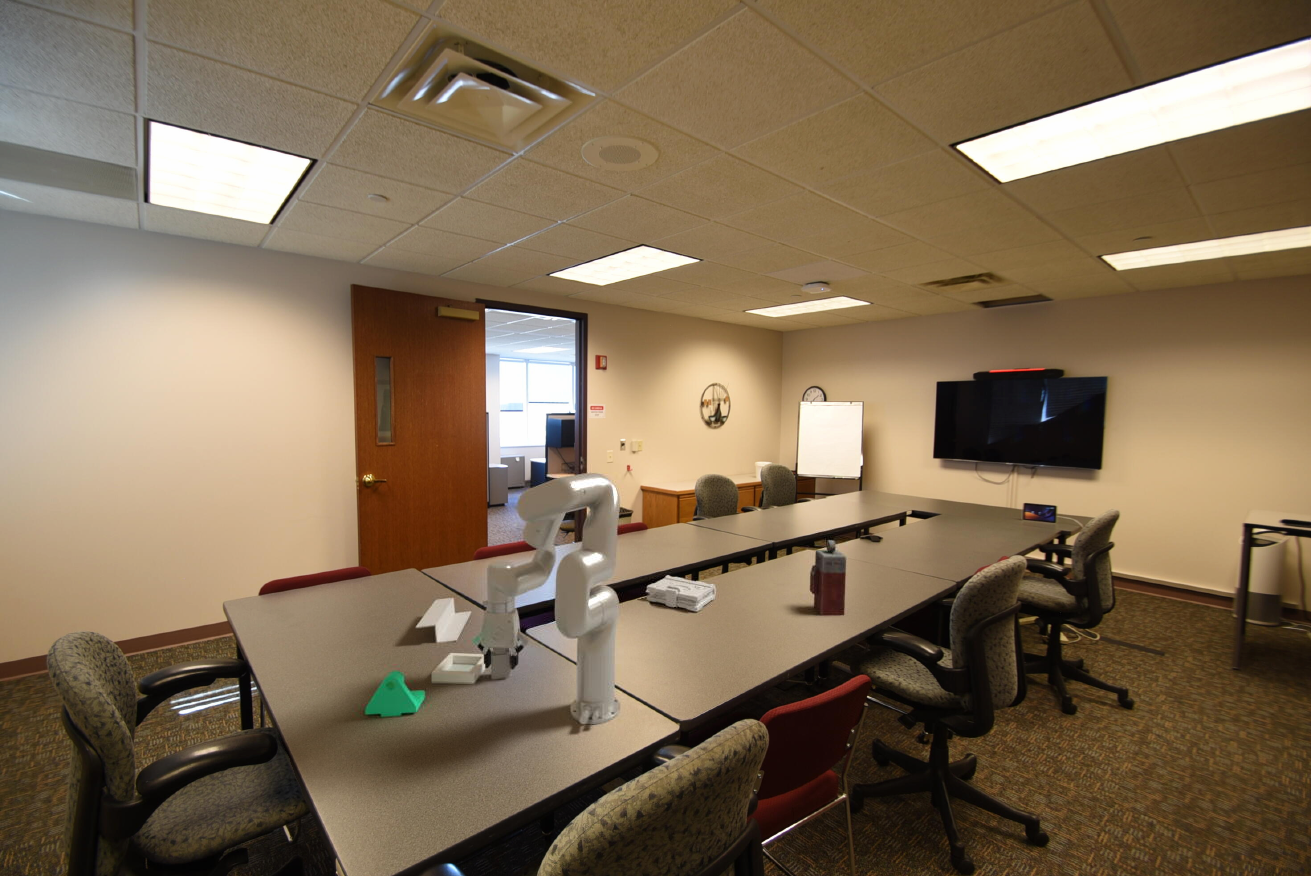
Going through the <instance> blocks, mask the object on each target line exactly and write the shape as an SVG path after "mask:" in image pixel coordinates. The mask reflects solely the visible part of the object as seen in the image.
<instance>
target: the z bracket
mask: <svg viewBox="0 0 1311 876" xmlns="http://www.w3.org/2000/svg"><path fill="white" fill-rule="evenodd" d="M471 614H472V611H471V610H470V611H462V612H456V611H455V598H454V597H448V598H439V599H438V598H437V599H435V601H433V603H432V605H430V607H429V608H428V610H427V611H426V612H425V614H424V615H423V616H422V617H421V619H420V620H419V621H418V623H417V625H416V626H415V629H420V628H428V627H434V632H435V642H436V644H441V643H443V644H444V643H451V642H457V641H458V639H459V636H460V635H461V633H462V631H463V629H464V627H465V625H466V623H467V621H468V620H469V618H470V616H471Z"/></svg>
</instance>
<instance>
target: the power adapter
mask: <svg viewBox="0 0 1311 876" xmlns="http://www.w3.org/2000/svg"><path fill="white" fill-rule="evenodd" d="M511 656H512V651H511V649H510V648H492V650H491V665H490V667H491V668H490V671H491V672H490V676H491V677H490V679H491V680H500V679H506V678H507V679H508V678H511V676H512V669H511Z"/></svg>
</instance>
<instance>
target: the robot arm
mask: <svg viewBox="0 0 1311 876" xmlns="http://www.w3.org/2000/svg"><path fill="white" fill-rule="evenodd" d="M587 508H588V509H589V511H588V513H587V515H586V518H585V520H584V523H583V528H582V541H581V546H580V548H579V549H578V550H574V551H572V552H569V553H567V554H566V555H565V556H563V558H562V559H561V560H560V562H559V564H558V566H557V568H556V569H557V570H556V574H555V575H556V577H555V594H554V596H555V598H554V599H555V600H554V619H555V624H556V627H557V629H558V631H559V633H560V634H561V635H562V636H563V637H565V638H567V639H572V640H573V639H577V642H576V699H574V700H573V701H572V702H571V703H570V707H569V708H570V709H569V710H570V711H569V713H570V715H571V717H572V718H573V719H574V720H575V721H577V722H578V723H580V724H582V725H586V724H587V725H600V724H601V725H602V724H605V723H607V722H610V721H612V720H614V719H615V718H617V716H619V714H620V713H621V702H620V700H619V699H617V698H616V697H615V678H616V677H615V674H616V673H615V672H616V671H615V669H616V667H615V665H616V664H615V663H616V659H615V658H616V632H617V631H616V630H617V624H618V619H619V613H620V601H619V598H618V594H617V592H616V591H615V590H614V589H613V588H612V587H611V586H607V585H605V584H603V583H605V582H607V581H609V580H610V579H612V578H613V576H614V574H615V572H616V566H617V550H618V549H617V545H618V544H617V543H618V527H619V526H618V524H619V518H620V509H621V501H620V494H619V492H618V489H617V486H616V485H615V484H614V482H613V481H612V480H611V479H610V478H609V477H607V476H606V475H604V474H602V473H598V472H586V473H585V472H584V473H580V474H574V475H567V476H562V477H561V476H560V477H557V478H554V479H552V480H549V481H546V482H543V483H541V484H539V485H537V486H533V487H531V488H527V489H526V490H525V491H523V492H522V493H521V495H520V496H519V497H518V501H517V504H516V512H517V514H518V517H519V518H520V519H521V520H522V521H524V522H525V523H526V524H525V526H524V528H523V531H522V538H523V540H524V541H525V543H526V544H528V545H529V546H531V547H533V548H535V549H536V551H535V553H534V556H533V558H532V560H531V561H529V562H526V563H524V564H519V565H518V566H515V565H514V563H513V562H512V561H510V560H497V561H492V562H491V563H489V564H488V566H487V569H486V574H487V575H486V586H487V587H486V599H485V600H483V601H482V602H481V603H482V606H484V607H486V609H484V611H483V616H482V623H481V629H480V630H481V632H479V633H478V634H477V635H475V636H474V638H473V639H472V641H473V642H474V644H475V645H476V646H477V648H478V649H479V650H480V652H481V654H483V655H484V664H485V668H486V669H488V668H489V667H491V652H492V649H493V648H509V649H510V650H511V671H513V670H515V668H516V667H517V666H518V665H519V653H520V652H522V651H523V650H524V648H525V647H526V646H527V645H528V644H529V643H530V639H529V638H528V637H527V636H526V635H524V634H523V632H521V626H520V617H519V612H518V608H516V605H515V603H516V600H515V599H516V598H515V597H518V596H520V595H524V594H527V592H530V591H533V590H536V589H539V588H540V587H542V586H543V585H545V584H546V583H547V582H548V580H549V578H550V577H551V574H552V573H553V569H554V568H555V564H556V561H557V551H556V547H555V543H554V541H555V538H556V537H557V535H558V532H559V530H560V527H561V525H562V523H563V520H564V518H565V516H566V514H567V513H570V512H575V511H578V510H583V509H587ZM518 642H521V643H520V644H518ZM491 648H492V649H491Z"/></svg>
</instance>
